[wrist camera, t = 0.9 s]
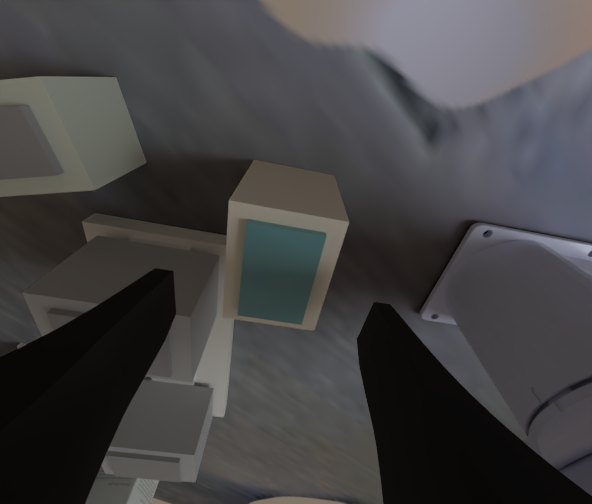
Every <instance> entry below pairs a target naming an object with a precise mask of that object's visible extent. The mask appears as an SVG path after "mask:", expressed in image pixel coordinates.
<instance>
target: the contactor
mask: <svg viewBox="0 0 592 504" xmlns="http://www.w3.org/2000/svg"><path fill="white" fill-rule="evenodd" d="M145 163H147V162H146V159H145V156H144V154H143V151H142V148H141V145H140V143H139V140H138V137H137V134H136V131H135V129H134V126H133V123H132V120H131V118H130V115H129V112H128V109H127V107H126V104H125V101H124V98H123V95H122V93H121V90H120V87H119V84H118V82H117V79H116V77H66V76H37V77H27V78H16V79H6V80H0V197H7V196H21V195H35V194H50V193H64V192H78V191H92V190H97V189H99V188H100V187H102V186H104V185H106V184H108V183H110V182H112V181H114V180H115V179H117V178H119V177H121V176H123V175H125V174H127V173H129V172H130V171H132V170H134V169H136V168H138V167H140V166H142V165H144V164H145Z"/></svg>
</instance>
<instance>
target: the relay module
mask: <svg viewBox="0 0 592 504" xmlns="http://www.w3.org/2000/svg"><path fill="white" fill-rule="evenodd" d="M348 225H349V219H348V216H347V213H346V210H345V207H344V204H343V201H342V198H341V195H340V192H339V189H338V186H337V182H336V179H335V176H334V175H330V174H325V173H320V172H315V171H310V170H304V169H299V168H294V167H289V166H284V165H279V164H273V163H268V162H263V161H258V160H253V162H252V164H251V165H250V167H249V168H248V170H247V172H246V173H245V175H244V177H243V178H242V180H241V181H240V183H239V185H238V186H237V188H236V189H235V191H234V193H233V194H232V196H231V198H230V199H229V205H228V223H227V240H226V257H225V275H224V292H223V310H222V317H223V318H230V319H237V320H243V321H250V322H257V323H264V324H271V325H277V326H284V327H291V328H298V329H305V330H311V331H315V327H316V324H317V321H318V318H319V315H320V312H321V309H322V306H323V303H324V299H325V296H326V293H327V290H328V287H329V284H330V281H331V278H332V275H333V272H334V268H335V265H336V262H337V259H338V256H339V253H340V250H341V247H342V244H343V240H344V237H345V234H346V231H347V228H348Z"/></svg>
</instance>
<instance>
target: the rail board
mask: <svg viewBox="0 0 592 504" xmlns="http://www.w3.org/2000/svg"><path fill="white" fill-rule="evenodd" d="M82 224H83V228H84V232H85V236H86V240H87V244H85V245H84V246H83V247H81V248H80V249H79V250H77V251H76V252H75V253H73V254H72V255H71V256H69V257H68V258H67V259H65V260H64V261H63V262H62V263H60V264H59V265H58V266H56V267H55V268H54V269H52V270H51V271H50V272H48V273H47V274H46V275H44V276H43V277H42V278H40V279H39V280H38V281H36V282H35V283H34V284H33V285H31V286H30V287H29V288H27V289H26V290H25V291H23V292H22V294H23V296H24V298H25V301H26V303H27V305H28V307H29V309H30V312H31V314H32V316H33V318H34V320H35V322H36V325H37V327H38V329H39V331H40V333H41V335H42V336H44V335H46V334H48V333H50V332H52V331H54V330H56V329H57V328H59V327H61V326H63V325H64V324H66V323H68V322H70V321H71V320H73V319H75V318H77V317H78V316H80V315H82V314H83V313H85V312H87V311H89V310H90V309H92V308H94V307H95V306H97V305H99V304H100V303H102V302H103V301H105V300H107V299H108V298H110V297H111V296H113V295H115V294H116V293H118V292H119V291H121V290H122V289H124V288H125V287H127V286H128V285H130V284H131V283H133V282H135V281H136V280H138V279H139V278H141V277H142V276H144V275H145V274H147V273H148V272H150V271H152V270H153V269H155V268H158V269H164V270H171V271H173V272H174V287H175V302H176V315H175V318H174V320H173V323H172V325H171V328H170V330H169V333H168V335H167V337H166V340H165V342H164V343H163V345H162V347H161V349H160V351H159V353H158V354H157V356H156V358H155V360H154V362H153V363H152V365H151V367H150V369H149V370H148V372H147V374H146V376H145V377H144V379H143V381H142V383H141V385H140V386H139V388H138V390H137V392H136V393H135V395H134V397H133V399H132V401H131V402H130V404H129V406H128V408H127V410H126V412H125V414H124V416H123V418H122V420H121V422H120V424H119V427H118V429H117V431H116V433H115V436H114V438H113V440H112V442H111V444H110V447H109V449H108V451H107V453H106V456H105V458H104V460H103V463H102V465H101V466H102V468H103V470H104V472H105V474H114V476H119V477H129V478H140V479H150V480H161V481H171V482H181V481H186V482H195V481H196V477H197V474H198V470H199V466H200V462H201V459H202V455H203V451H204V447H205V444H206V440H207V436H208V432H209V429H210V425H211V421H212V416H218V417H224V414H225V409H226V405H227V394H228V384H229V373H230V362H231V351H232V340H233V329H234V319H230V318H223V317H222V310H223V292H224V275H225V257H226V240H227V235H222V234H216V233H210V232H204V231H198V230H192V229H186V228H181V227H175V226H169V225H163V224H157V223H151V222H145V221H139V220H134V219H128V218H122V217H116V216H110V215H104V214H98V213H94V214H93V215H91V216H90V217H88V218H87V219H85V220H83V221H82Z"/></svg>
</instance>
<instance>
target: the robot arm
mask: <svg viewBox="0 0 592 504" xmlns="http://www.w3.org/2000/svg"><path fill="white" fill-rule="evenodd" d="M487 230H488V232H487V233H486V234H484V235H483V233H484V232H485V231H487ZM434 314H435V315H434ZM175 315H176V302H175V287H174V272H173V271H171V270H164V269H158V268H155V269H153V270H152V271H150V272H148V273H147V274H145V275H144V276H142V277H141V278H139V279H138V280H136V281H135V282H133V283H131V284H130V285H128V286H127V287H125V288H124V289H122V290H121V291H119V292H118V293H116V294H115V295H113V296H111V297H110V298H108V299H107V300H105V301H103V302H102V303H100V304H99V305H97V306H95V307H94V308H92V309H90V310H89V311H87V312H85V313H83V314H82V315H80V316H78V317H77V318H75V319H73V320H71V321H70V322H68V323H66V324H64V325H63V326H61V327H59V328H57V329H56V330H54V331H52V332H50V333H48V334H46V335H44V336H42V337H40V338H39V339H37V340H35V341H33V342H31V343H29V344H27V345H25V346H23V347H21V348H19V349H17V350H15V351H13V352H10V353H8V354H6V355H4V356H2V357H0V504H85V503H86V500H87V498H88V495H89V493H90V491H91V488H92V486H93V484H94V481H95V479H96V477H97V474H98V472H99V470H100V467H101V465H102V463H103V460H104V458H105V456H106V453H107V451H108V449H109V447H110V444H111V442H112V440H113V438H114V436H115V433H116V431H117V429H118V427H119V424H120V422H121V420H122V418H123V416H124V414H125V412H126V410H127V408H128V406H129V404H130V402H131V401H132V399H133V397H134V395H135V393H136V392H137V390H138V388H139V386H140V385H141V383H142V381H143V379H144V377H145V376H146V374H147V372H148V370H149V369H150V367H151V365H152V363H153V362H154V360H155V358H156V356H157V354H158V353H159V351H160V349H161V347H162V345H163V343H164V342H165V340H166V337H167V335H168V333H169V330H170V328H171V325H172V323H173V320H174V318H175ZM420 316H421V318H422V319H424V320H428V321H435V322H441V323H448V324H454V325H458V327H459V328H460V330H461V332H462V333H463V335H464V336H465V338H466V340H467V341H468V343H469V344H470V346H471V347H472V349H473V351H474V352H475V354H476V355H477V357H478V359H479V360H480V362H481V363H482V365H483V367H484V368H485V370H486V371H487V373H488V374H489V376H490V378H491V379H492V381H493V382H494V384H495V386H496V387H497V389H498V390H499V392H500V394H501V395H502V397H503V398H504V400H505V401H506V403H507V405H508V406H509V408H510V409H511V411H512V413H513V414H514V416H515V417H516V419H517V421H518V422H519V424H520V425H521V427H522V428H523V430H524V432H525V433H526V435H527V436H528V437H527V439H526V440H525V441H524V442H523V441H522V440H521V439H519V438H518V437H517V436H516V435H515V434H513V433H512V432H511V431H510V430H509V429H508V428H506V427H505V426H504V425H503V424H502V423H501V422H500V421H499V420H497V419H496V418H495V417H494V416H493V415H492V414H491V413H490V412H489V411H488V410H487V409H486V408H485V407H483V406H482V405H481V404H480V403H479V402H478V401H477V400H476V399H475V398H474V397H473V396H472V395H471V394H470V393H469V392H468V391H467V390H466V389H465V388H464V387H463V386H462V385H461V384H460V383H459V382H458V381H457V380H456V379H455V378H454V377H453V376H452V375H451V374H450V373H449V372H448V371H447V370H446V368H445V367H444V366H443V365H442V364H441V363H440V362H439V361H438V360H437V359H436V358H435V356H434V355H433V354H432V353H431V352H430V351H429V350H428V348H427V347H426V346H425V345H424V344H423V343H422V341H421V340H420V339H419V338H418V337H417V336H416V334H415V333H414V332H413V331H412V330H411V328H410V327H409V326H408V325H407V324H406V322H405V321H404V320H403V319H402V318H401V317H400V315H399V314H398V313H397V312H396V311H395V310H394V308H393V307H392V306H391V305H390V304H384V303H377V302H374V303H373V305H372V308H371V310H370V312H369V314H368V316H367V318H366V321H365V323H364V325H363V327H362V329H361V332H360V334H359V336H358V338H357V344H358V356H359V366H360V371H361V375H362V380H363V385H364V389H365V394H366V398H367V403H368V407H369V412H370V416H371V420H372V425H373V429H374V435H375V440H376V446H377V453H378V461H379V468H380V476H381V485H382V494H383V503H384V504H592V243H587V242H582V241H577V240H572V239H566V238H561V237H556V236H550V235H545V234H540V233H534V232H529V231H524V230H518V229H513V228H508V227H503V226H497V225H492V224H487V223H481V222H479V223H475V224H473V225H472V226H471V227H470V228H469V229H468V231H467V233H466V234H465V236H464V238H463V240H462V241H461V243H460V245H459V246H458V248H457V250H456V251H455V253H454V255H453V256H452V258H451V260H450V261H449V263H448V265H447V267H446V268H445V270H444V272H443V273H442V275H441V277H440V278H439V280H438V282H437V283H436V285H435V287H434V289H433V290H432V292H431V294H430V295H429V297H428V299H427V300H426V302H425V304H424V305H423V307H422V309H421V310H420Z"/></svg>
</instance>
